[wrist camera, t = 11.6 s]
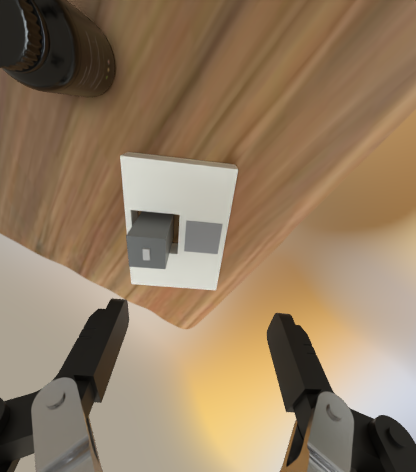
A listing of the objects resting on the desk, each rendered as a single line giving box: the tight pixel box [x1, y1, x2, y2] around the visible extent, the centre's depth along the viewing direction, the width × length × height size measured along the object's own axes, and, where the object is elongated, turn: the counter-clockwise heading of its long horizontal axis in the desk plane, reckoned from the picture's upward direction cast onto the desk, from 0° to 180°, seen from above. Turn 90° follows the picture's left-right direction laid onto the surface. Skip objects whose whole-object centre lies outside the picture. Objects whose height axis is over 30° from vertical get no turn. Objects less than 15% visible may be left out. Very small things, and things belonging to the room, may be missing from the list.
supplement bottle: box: [0, 0, 115, 97], centre depth 17 cm, size 7×7×12 cm
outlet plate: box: [120, 152, 238, 290], centre depth 31 cm, size 20×14×3 cm
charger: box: [126, 211, 174, 269], centre depth 29 cm, size 4×4×8 cm
